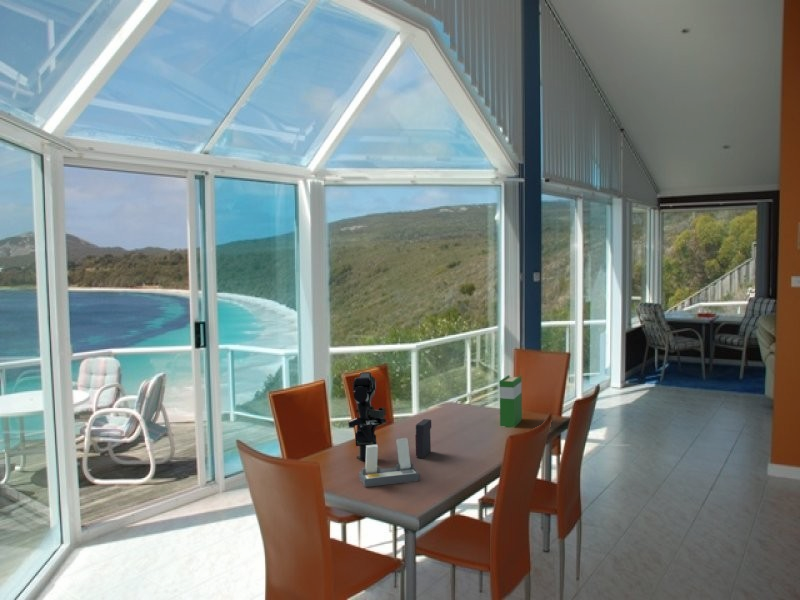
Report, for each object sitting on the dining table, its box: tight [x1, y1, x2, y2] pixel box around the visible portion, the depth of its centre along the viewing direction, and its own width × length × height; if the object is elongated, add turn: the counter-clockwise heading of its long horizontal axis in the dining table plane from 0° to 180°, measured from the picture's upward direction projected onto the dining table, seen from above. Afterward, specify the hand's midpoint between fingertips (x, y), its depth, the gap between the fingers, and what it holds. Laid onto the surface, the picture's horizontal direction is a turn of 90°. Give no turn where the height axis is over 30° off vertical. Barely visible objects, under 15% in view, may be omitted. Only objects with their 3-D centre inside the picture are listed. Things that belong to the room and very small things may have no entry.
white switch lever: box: [364, 444, 379, 473], centre depth 250 cm, size 2×4×12 cm, turn 105°
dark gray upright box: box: [414, 418, 432, 459], centre depth 284 cm, size 11×4×15 cm, turn 159°
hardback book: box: [499, 374, 523, 428], centre depth 336 cm, size 18×7×24 cm, turn 156°
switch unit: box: [358, 461, 420, 488], centre depth 252 cm, size 10×22×5 cm, turn 106°
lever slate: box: [395, 437, 411, 469], centre depth 257 cm, size 2×4×12 cm, turn 105°
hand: (371, 442), depth 264 cm, fingers closed
